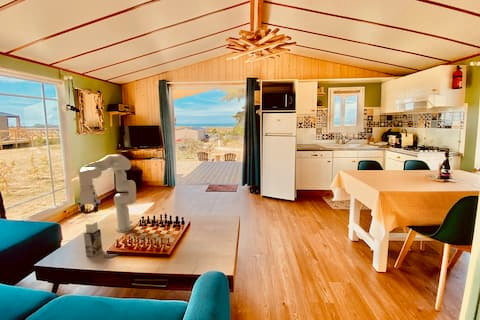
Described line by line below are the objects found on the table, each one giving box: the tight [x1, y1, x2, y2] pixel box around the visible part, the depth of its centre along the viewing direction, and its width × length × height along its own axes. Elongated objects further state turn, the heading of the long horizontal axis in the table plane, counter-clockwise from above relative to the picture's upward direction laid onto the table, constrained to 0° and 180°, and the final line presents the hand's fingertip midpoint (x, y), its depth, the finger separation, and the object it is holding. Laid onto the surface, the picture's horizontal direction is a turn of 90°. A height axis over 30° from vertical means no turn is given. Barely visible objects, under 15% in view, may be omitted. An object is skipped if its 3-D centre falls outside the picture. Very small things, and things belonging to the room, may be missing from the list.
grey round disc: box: [103, 252, 119, 259], centre depth 189 cm, size 9×9×1 cm
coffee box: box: [83, 228, 103, 257], centre depth 191 cm, size 9×6×16 cm
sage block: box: [85, 221, 99, 233], centre depth 190 cm, size 5×5×6 cm
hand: (89, 211), depth 189 cm, fingers open, 9 cm apart
